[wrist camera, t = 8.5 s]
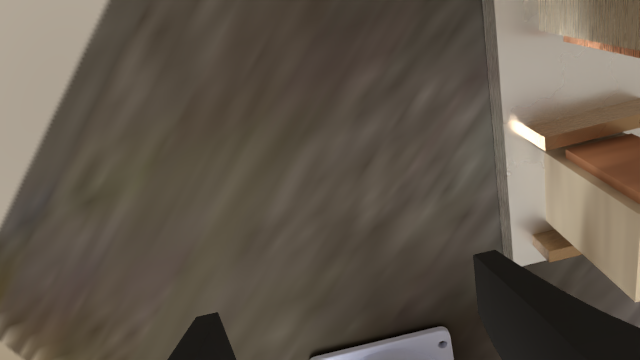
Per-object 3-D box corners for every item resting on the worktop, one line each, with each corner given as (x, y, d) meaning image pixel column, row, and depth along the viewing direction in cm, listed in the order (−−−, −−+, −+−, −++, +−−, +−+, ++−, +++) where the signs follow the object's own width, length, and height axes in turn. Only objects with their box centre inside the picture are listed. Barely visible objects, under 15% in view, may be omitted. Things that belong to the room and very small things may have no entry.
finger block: (624, 124, 20) (753, 178, 15) (620, 202, 22) (735, 278, 16) (543, 143, 20) (642, 205, 15) (546, 220, 22) (635, 302, 16)
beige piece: (635, 222, 24) (772, 316, 17) (503, 254, 24) (587, 359, 17) (655, -108, 18) (879, -161, 11) (476, -62, 18) (591, -86, 11)
